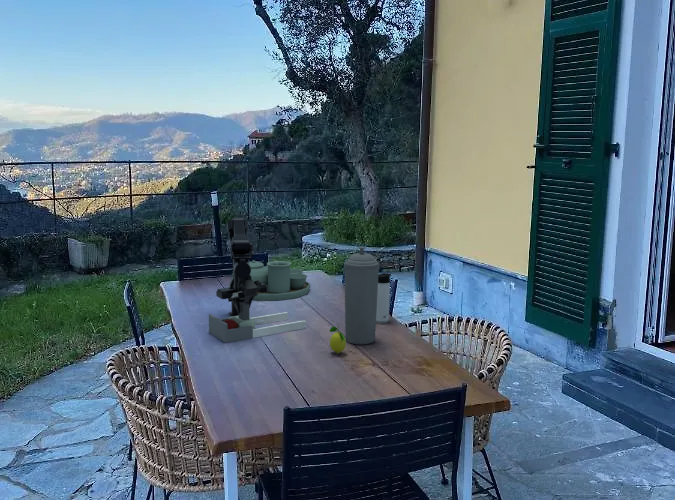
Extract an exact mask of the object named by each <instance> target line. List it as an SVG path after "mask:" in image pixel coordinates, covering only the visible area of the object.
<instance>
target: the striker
mask: <svg viewBox="0 0 675 500" xmlns="http://www.w3.org/2000/svg"><path fill="white" fill-rule="evenodd" d="M228 318H229V319H231V320H234V321H235V322H237V323H238V325H239V326H238V328H241V327H246V326H253V329H256V326H260V325H264V320H259V321H254V320H252V319H250V318H251V317H250V309H249V304H248V303H246V302H240V314H239V316H229V317H228Z"/></svg>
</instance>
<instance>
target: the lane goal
mask: <svg viewBox="0 0 675 500" xmlns="http://www.w3.org/2000/svg"><path fill="white" fill-rule="evenodd" d="M249 318H250V319H252V320H254V321H259V320H264V324H265V325H266V324H270V323H275V322H276V323H277V322H282V321H288V320H289V312H288V311H284V312H279V313H273V314H267V315H260V316H259V315H258V316H254V317H249ZM228 319H229V317H224V318H218V317H217V316H215V315H213V314H212V313H210V314H208V333H209V332H210V334H211V335H212V334H213V335H212V336H214V337H215V336H216V337H215V338H217V339H218V338H219V339H218V340H220V341H221V340H222V341H221V342H223V343H224V342H225V343H224V344H227V343H233V342H238V341H239V342H240V341H243V340H244V341H245V340H249V339H250V340H251V339H254V338H255V339H256V338H259V337H266V336H270V335H277V334H282V333H289V332H293V331H299V330H303V329H307V321H306V320H305V319H304V320H299V321H293V322H287V323H282V324H276V325H270V326H264V327H259V328H255V329H253V326H246V327H241V328H235V329H229V330H228V326H227V323H225V322H224V321H226V320H228ZM264 324H263V325H264Z"/></svg>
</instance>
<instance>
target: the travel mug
mask: <svg viewBox="0 0 675 500" xmlns="http://www.w3.org/2000/svg"><path fill="white" fill-rule="evenodd" d="M391 277H392V274H391V273H380V274H379V273H378V294H377V313H376V324H381V325H382V324H388V323H389V321H390V298H391V297H390V293H391V292H390V291H391V287H390V285H391Z"/></svg>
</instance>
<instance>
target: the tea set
mask: <svg viewBox="0 0 675 500" xmlns="http://www.w3.org/2000/svg"><path fill="white" fill-rule="evenodd" d="M249 265H250V268H251V273H250V275H251V279H252V281H257V280H260V281H261V283H264V284H266V285H267V287H268V291H267V292H263V293H260V292H259V291H257V294H258V295H257V296H255V297H254V298H253V300H252V301H256V302H257V301H259V302H260V301H261V302H263V301H264V302H265V301H269V302H270V301H271V302H272V301H275V302H276V301H278V302H279V301H282V300H283V301H284V300H286V301H287V300H292V299H296V298H300V297H302V296H305V295H307V294H308V293H309V291H310V289H311V283H310V282H308V281H307V278H308V275H307V274H305V273H304V270H302V269H300V268H299V269H298V268H291V265H292V262H289V261H284V260H274V261H269V262H266V265H265V266H264V263H263V262H260V261H256V260H254V259H253V260H252V261H249ZM230 278H231V279H230V281H231V280H232V278H233V273H232V274H231V277H230ZM228 287H230V282H229V283H228Z"/></svg>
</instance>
